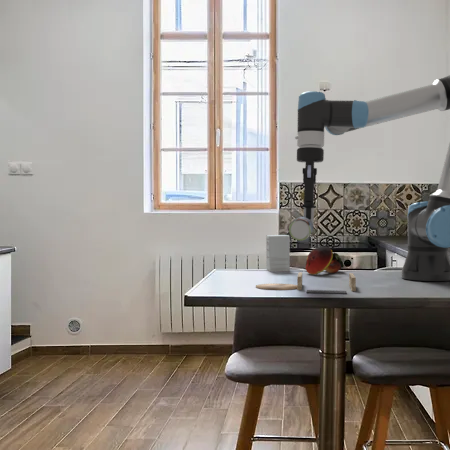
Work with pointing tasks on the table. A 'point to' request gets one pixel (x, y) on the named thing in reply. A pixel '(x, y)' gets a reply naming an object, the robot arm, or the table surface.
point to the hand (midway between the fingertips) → (308, 231)
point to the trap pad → (326, 292)
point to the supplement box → (277, 253)
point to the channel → (351, 281)
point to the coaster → (277, 286)
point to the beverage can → (301, 228)
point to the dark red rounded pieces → (323, 261)
